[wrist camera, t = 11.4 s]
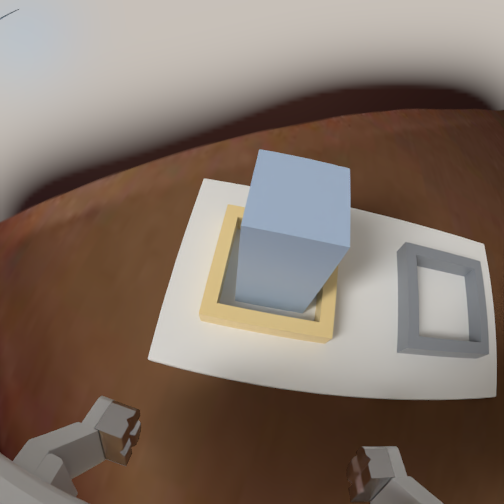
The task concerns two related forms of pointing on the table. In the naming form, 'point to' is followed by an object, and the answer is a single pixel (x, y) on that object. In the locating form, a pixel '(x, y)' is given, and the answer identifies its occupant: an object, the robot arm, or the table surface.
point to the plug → (292, 230)
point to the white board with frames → (336, 312)
